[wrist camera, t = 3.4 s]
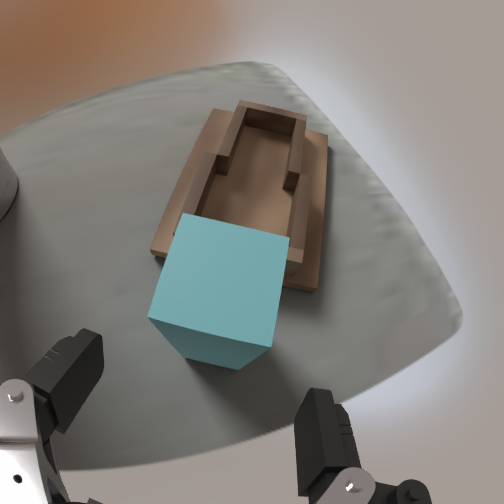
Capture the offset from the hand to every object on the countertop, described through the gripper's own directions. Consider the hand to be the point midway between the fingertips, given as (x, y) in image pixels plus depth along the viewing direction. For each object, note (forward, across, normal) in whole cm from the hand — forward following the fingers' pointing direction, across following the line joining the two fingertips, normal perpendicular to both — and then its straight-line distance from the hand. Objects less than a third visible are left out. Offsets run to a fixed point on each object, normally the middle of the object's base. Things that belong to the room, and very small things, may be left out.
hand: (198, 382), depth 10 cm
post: (+10, 0, +4) cm, 11 cm away
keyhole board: (+19, 0, -5) cm, 20 cm away
